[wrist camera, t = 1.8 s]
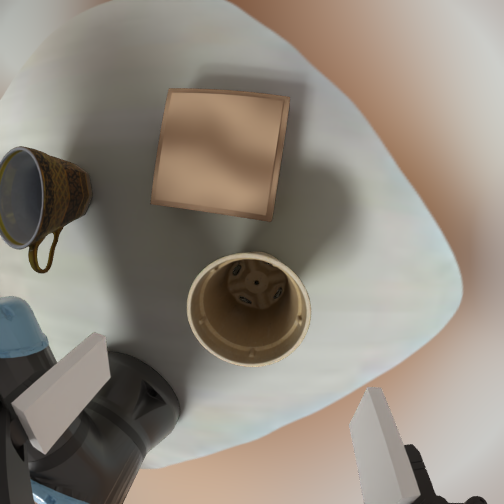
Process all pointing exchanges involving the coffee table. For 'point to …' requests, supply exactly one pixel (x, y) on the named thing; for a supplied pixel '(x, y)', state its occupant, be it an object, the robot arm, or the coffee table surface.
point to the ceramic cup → (39, 199)
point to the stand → (220, 152)
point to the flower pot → (249, 309)
